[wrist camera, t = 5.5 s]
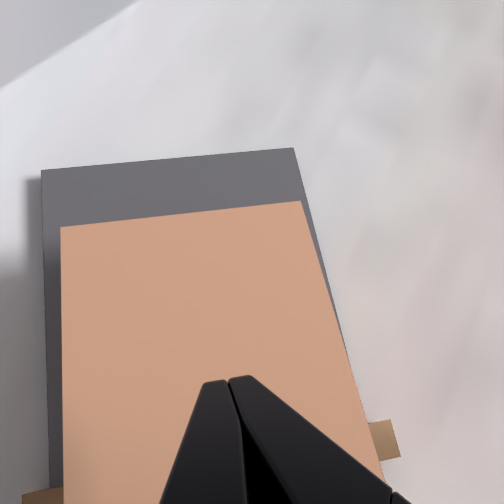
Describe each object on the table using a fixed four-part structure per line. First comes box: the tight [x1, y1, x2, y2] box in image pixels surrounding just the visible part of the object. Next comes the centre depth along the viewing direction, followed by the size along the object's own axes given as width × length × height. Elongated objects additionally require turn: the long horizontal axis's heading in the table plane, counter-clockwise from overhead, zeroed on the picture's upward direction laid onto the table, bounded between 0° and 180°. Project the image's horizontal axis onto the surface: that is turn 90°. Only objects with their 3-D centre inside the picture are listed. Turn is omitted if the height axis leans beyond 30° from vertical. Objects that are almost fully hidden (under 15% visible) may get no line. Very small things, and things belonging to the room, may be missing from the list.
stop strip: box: [22, 420, 401, 504], centre depth 13 cm, size 1×10×1 cm, turn 101°
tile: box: [60, 201, 385, 504], centre depth 13 cm, size 2×7×10 cm
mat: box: [41, 148, 349, 489], centre depth 16 cm, size 10×9×1 cm
